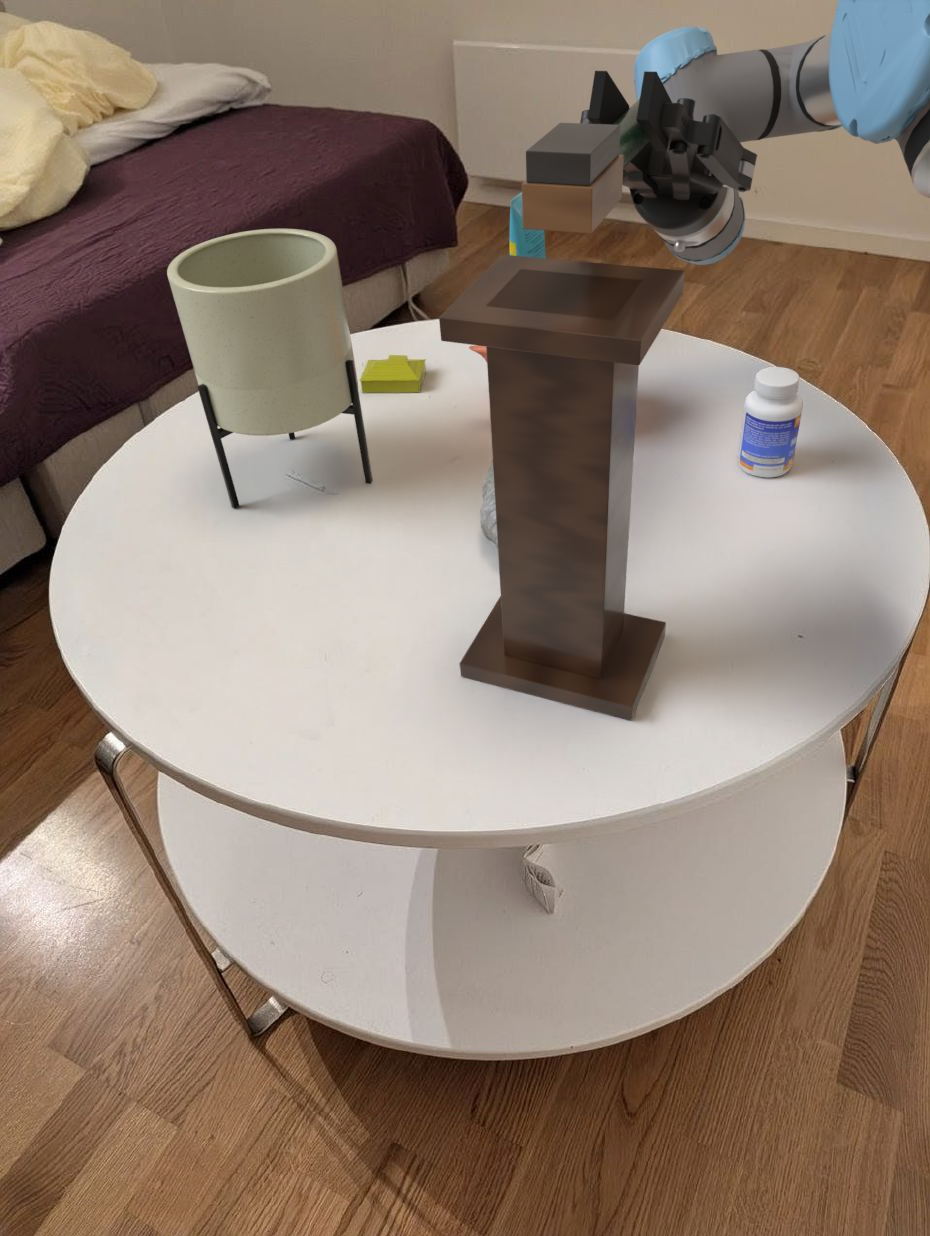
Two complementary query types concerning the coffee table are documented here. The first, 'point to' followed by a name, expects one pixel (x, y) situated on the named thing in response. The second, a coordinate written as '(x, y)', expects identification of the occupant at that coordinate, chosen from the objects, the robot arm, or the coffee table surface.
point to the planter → (267, 335)
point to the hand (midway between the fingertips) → (621, 95)
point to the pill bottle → (770, 423)
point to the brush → (579, 173)
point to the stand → (564, 472)
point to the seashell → (489, 508)
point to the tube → (524, 234)
